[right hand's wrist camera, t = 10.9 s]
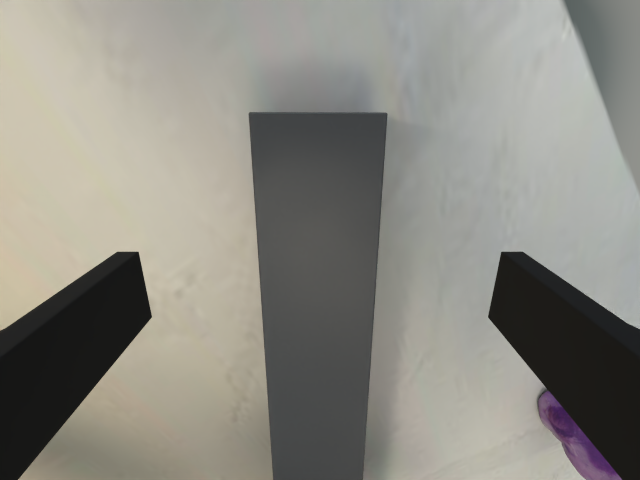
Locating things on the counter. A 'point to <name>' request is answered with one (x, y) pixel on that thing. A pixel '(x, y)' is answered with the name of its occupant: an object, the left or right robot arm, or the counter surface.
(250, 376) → the counter surface
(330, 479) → the wide beam
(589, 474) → the figurine
